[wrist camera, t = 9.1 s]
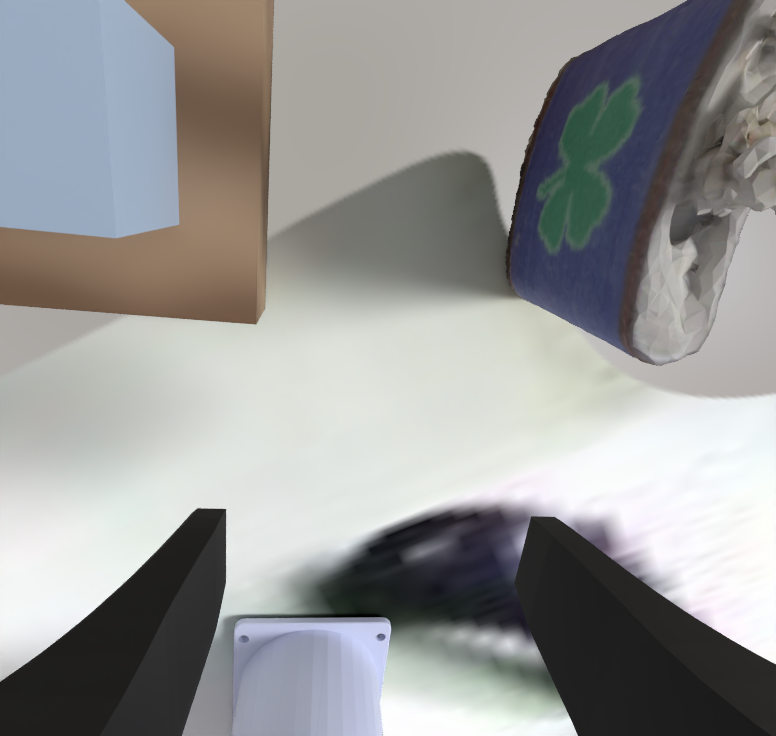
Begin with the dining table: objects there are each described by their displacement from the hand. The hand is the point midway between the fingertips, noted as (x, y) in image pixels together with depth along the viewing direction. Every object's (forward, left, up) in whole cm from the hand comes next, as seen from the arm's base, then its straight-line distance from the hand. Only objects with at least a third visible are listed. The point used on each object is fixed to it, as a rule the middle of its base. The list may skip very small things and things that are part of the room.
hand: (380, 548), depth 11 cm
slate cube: (+9, +9, -8) cm, 15 cm away
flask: (+9, -7, -11) cm, 16 cm away
